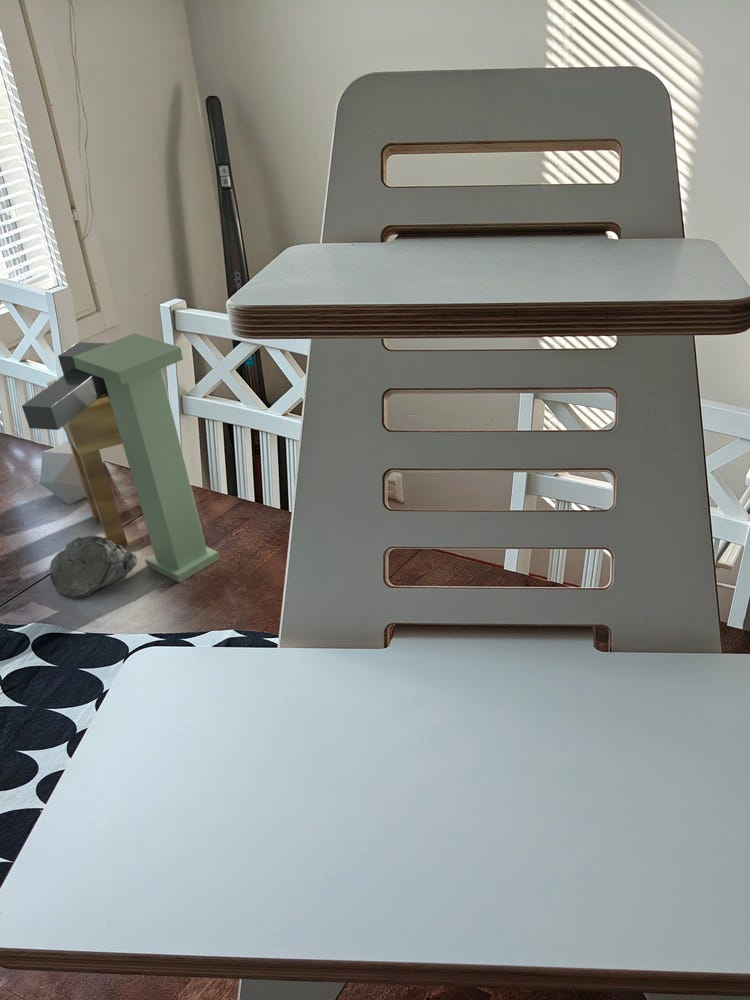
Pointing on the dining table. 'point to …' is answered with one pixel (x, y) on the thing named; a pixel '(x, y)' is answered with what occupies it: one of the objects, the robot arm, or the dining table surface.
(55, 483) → the die
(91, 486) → the go table
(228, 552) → the dining table surface
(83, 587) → the grey rough chunk
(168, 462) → the shelf stand
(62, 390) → the t-shaped mallet
